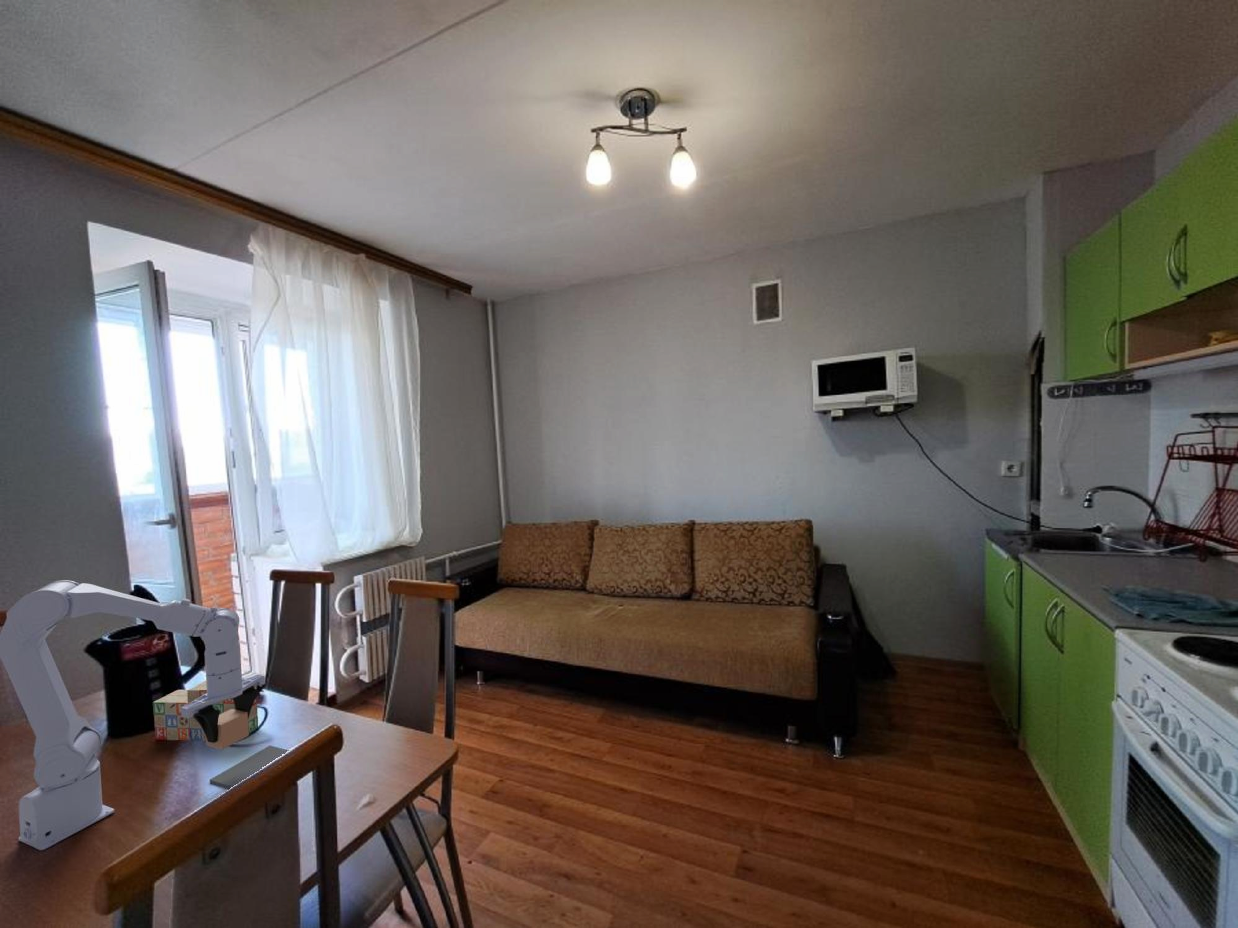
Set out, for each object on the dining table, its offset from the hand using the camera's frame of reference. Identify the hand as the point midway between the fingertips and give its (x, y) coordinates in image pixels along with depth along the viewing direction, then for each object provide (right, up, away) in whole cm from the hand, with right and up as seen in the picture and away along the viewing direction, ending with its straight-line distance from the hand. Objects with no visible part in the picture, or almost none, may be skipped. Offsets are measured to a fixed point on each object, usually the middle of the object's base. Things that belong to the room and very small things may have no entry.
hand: (227, 733), depth 101 cm
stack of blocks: (-18, -9, +16) cm, 26 cm away
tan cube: (0, -1, 0) cm, 1 cm away
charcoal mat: (+6, -8, +1) cm, 10 cm away
